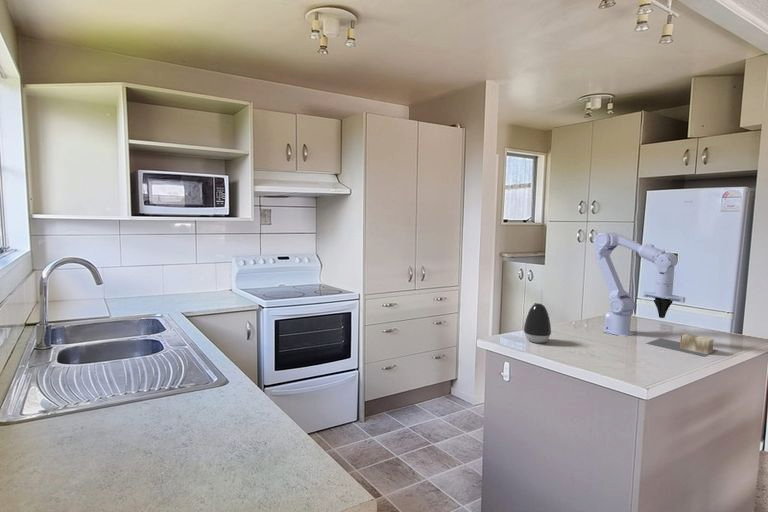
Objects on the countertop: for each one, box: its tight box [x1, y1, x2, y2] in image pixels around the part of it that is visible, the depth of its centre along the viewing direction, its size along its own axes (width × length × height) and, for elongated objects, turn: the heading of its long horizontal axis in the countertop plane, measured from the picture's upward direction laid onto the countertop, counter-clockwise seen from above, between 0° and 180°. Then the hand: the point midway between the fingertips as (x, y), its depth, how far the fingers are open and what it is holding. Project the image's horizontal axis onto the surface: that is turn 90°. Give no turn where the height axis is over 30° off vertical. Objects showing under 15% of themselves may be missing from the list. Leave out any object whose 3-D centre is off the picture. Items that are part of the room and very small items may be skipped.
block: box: [679, 333, 715, 354], centre depth 169 cm, size 5×5×9 cm
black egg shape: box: [523, 302, 552, 344], centre depth 178 cm, size 10×10×15 cm
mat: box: [645, 337, 719, 357], centre depth 173 cm, size 20×14×1 cm
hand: (661, 317), depth 178 cm, fingers closed
